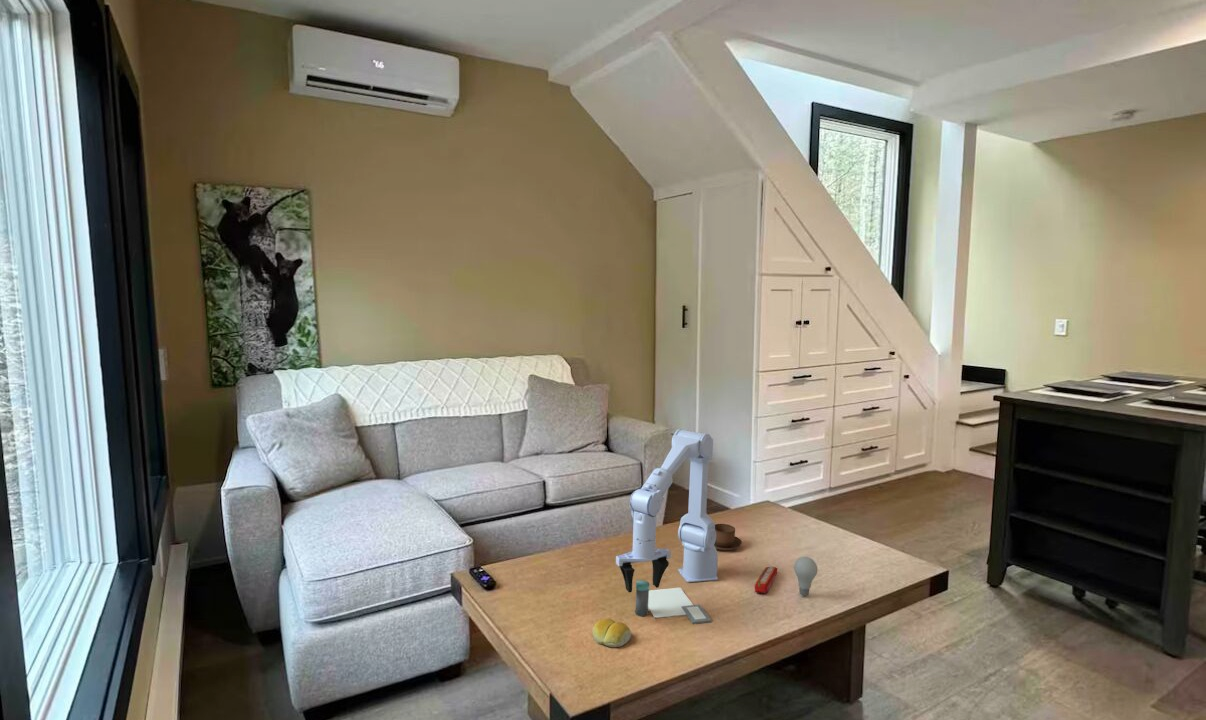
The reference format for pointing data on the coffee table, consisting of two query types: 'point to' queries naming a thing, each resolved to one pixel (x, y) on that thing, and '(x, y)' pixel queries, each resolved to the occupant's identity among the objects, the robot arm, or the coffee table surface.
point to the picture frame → (696, 614)
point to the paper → (667, 602)
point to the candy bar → (766, 580)
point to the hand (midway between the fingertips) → (642, 588)
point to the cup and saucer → (726, 537)
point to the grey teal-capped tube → (642, 598)
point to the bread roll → (611, 633)
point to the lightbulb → (805, 574)
